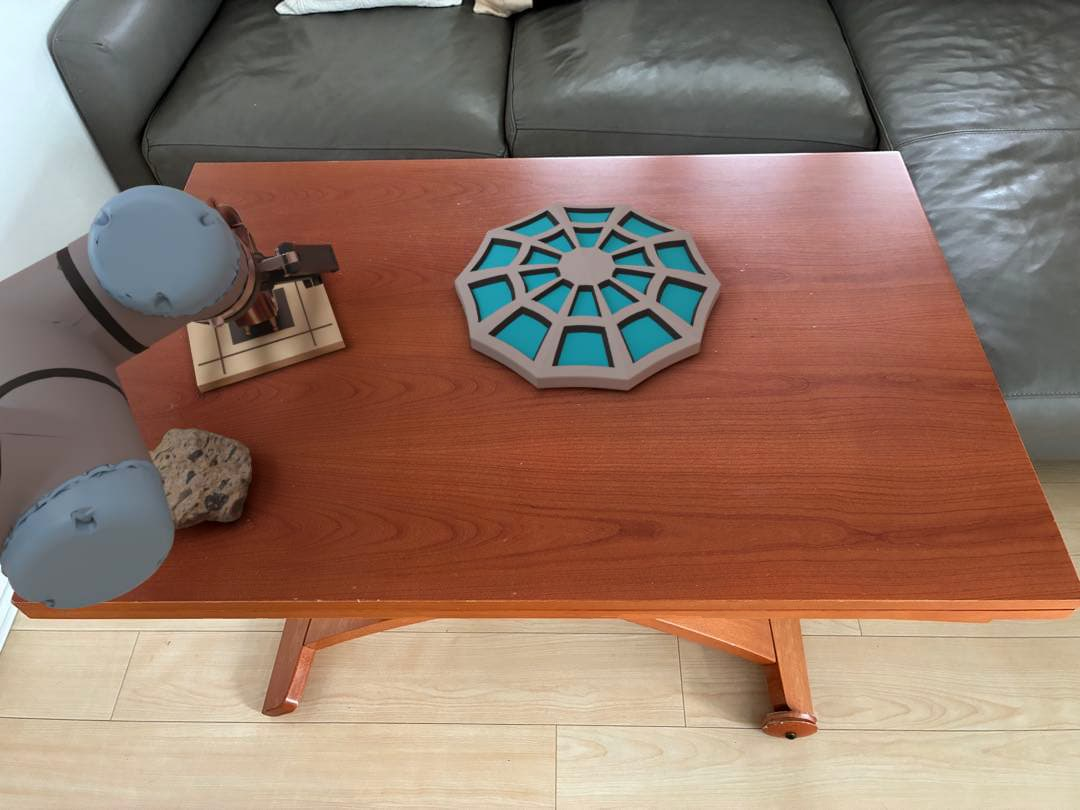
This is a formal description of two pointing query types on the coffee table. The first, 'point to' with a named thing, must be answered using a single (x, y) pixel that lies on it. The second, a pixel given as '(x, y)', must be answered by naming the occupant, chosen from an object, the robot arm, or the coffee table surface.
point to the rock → (202, 475)
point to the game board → (266, 338)
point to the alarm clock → (266, 301)
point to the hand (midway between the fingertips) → (239, 294)
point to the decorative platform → (587, 296)
